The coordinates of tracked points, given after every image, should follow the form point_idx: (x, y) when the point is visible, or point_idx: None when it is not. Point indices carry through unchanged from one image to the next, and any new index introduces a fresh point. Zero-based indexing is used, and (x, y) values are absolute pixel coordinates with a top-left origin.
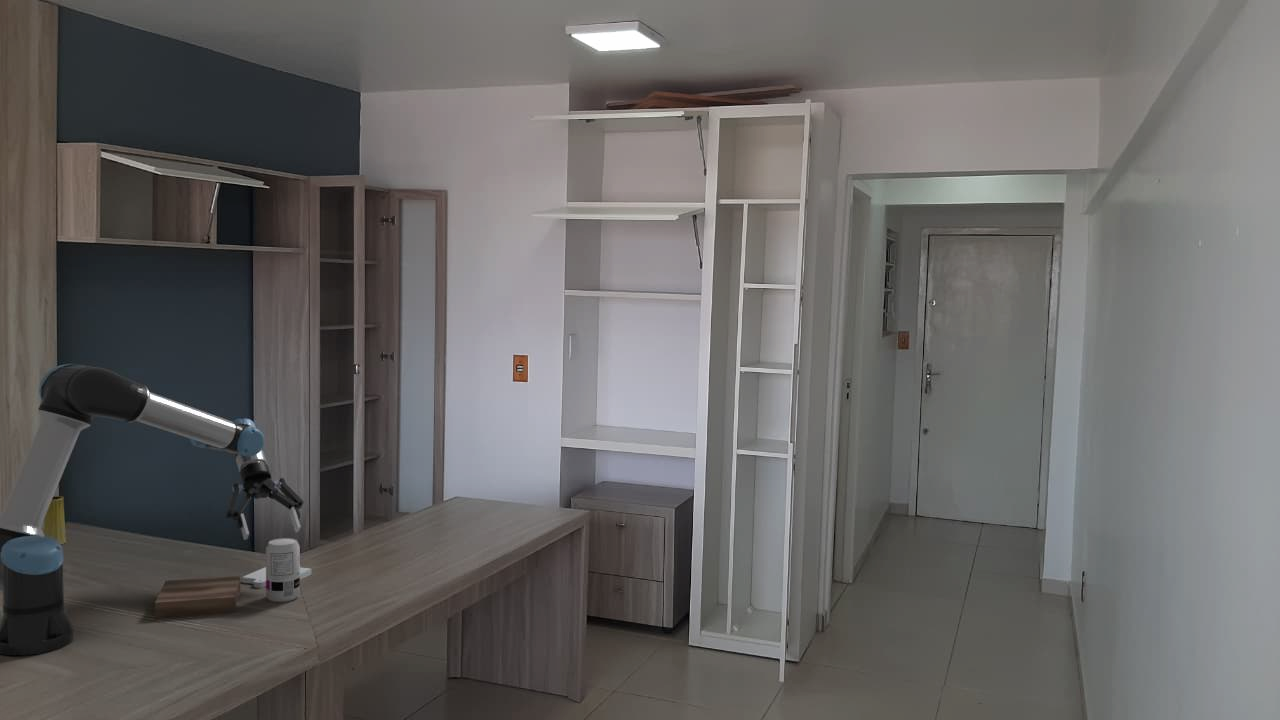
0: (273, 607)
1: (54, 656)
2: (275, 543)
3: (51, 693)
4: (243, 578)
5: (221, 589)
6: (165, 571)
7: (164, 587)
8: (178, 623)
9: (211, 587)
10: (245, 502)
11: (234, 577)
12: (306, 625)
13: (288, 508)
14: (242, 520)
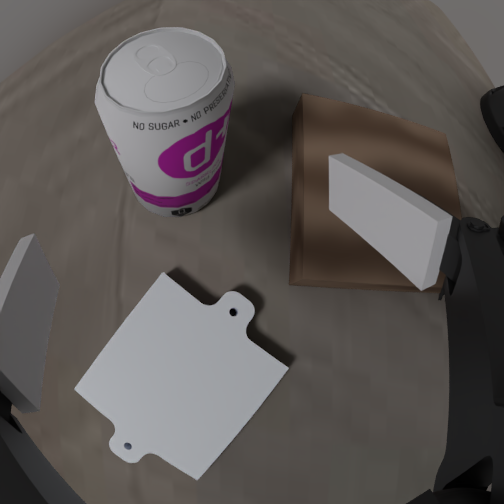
0: None
1: (473, 80)
2: (196, 58)
3: (426, 9)
4: (284, 365)
5: None
6: None
7: None
8: (385, 107)
9: None
10: (494, 311)
11: (318, 263)
12: (163, 26)
13: (32, 441)
14: (409, 190)
